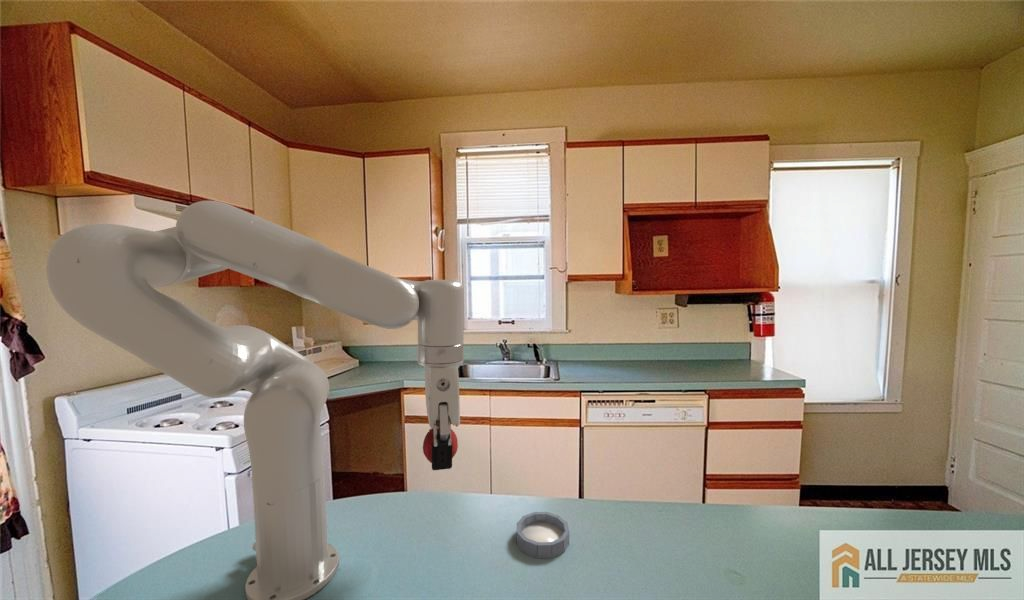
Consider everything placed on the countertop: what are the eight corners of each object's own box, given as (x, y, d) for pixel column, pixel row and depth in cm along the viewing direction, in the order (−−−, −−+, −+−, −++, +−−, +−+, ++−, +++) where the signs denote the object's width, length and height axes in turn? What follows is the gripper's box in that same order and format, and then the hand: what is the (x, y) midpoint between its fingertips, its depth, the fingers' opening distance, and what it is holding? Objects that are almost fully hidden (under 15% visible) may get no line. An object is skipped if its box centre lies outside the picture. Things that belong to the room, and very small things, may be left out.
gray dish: (507, 546, 67) (507, 534, 67) (531, 518, 75) (531, 506, 75) (555, 565, 63) (555, 552, 63) (576, 532, 71) (576, 521, 70)
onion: (450, 477, 63) (450, 428, 63) (416, 472, 65) (417, 425, 64) (462, 460, 69) (462, 415, 69) (431, 457, 70) (431, 413, 70)
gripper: (471, 364, 58) (470, 482, 59) (456, 344, 75) (456, 437, 76) (419, 366, 56) (419, 488, 57) (416, 345, 73) (416, 441, 74)
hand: (440, 458), depth 67 cm, fingers closed on onion, 5 cm apart
